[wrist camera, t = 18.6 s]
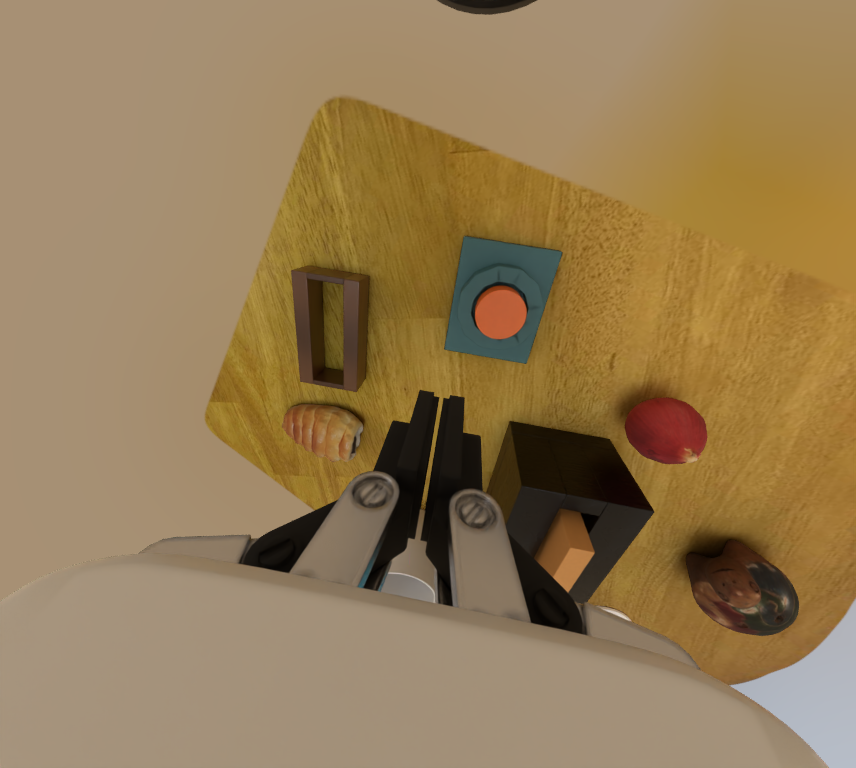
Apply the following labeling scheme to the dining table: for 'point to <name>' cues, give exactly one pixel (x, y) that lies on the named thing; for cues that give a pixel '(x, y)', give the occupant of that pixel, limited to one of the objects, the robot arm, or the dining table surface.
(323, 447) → the pastry
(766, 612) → the brown mottled ceramic figure
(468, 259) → the block
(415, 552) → the cup
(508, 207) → the dining table surface
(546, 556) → the toast
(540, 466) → the toaster
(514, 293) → the button
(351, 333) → the brown rectangular frame
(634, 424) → the onion
